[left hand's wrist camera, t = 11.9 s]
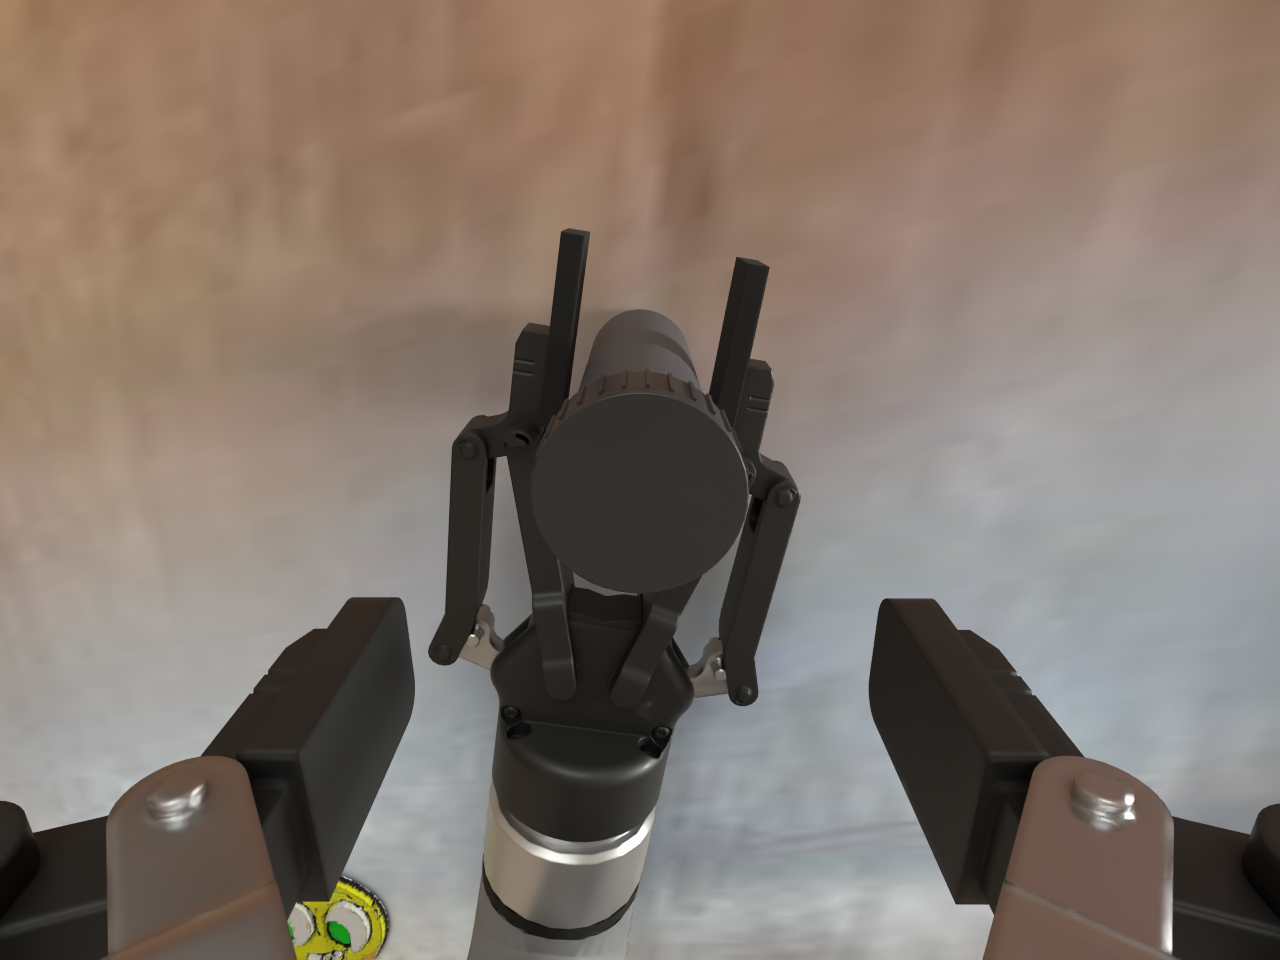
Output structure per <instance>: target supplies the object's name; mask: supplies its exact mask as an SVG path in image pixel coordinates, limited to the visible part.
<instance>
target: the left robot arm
mask: <svg viewBox="0 0 1280 960" xmlns="http://www.w3.org/2000/svg"><path fill="white" fill-rule="evenodd" d="M414 696H415V680H414V671H413V664H412V656H411V649H410V641H409V634H408V626H407V619H406V612H405V607H404V604H403V601H402V600H401V599H400V598H398V597H353V598H350V599H349V600H348V601H347V602H346V603H345V605H344V606H343V607H342V609H341V610H340V611H339V613H338V614H337V616H336V617H335V618H334V620H333V621H332V622H331V624H330V625H329V627H328V628H327V629H313V630H312V631H310V632H309V633H307V634H306V635H304V636H303V637H301V638H300V639H298V640H297V641H295V642H294V643H292V644H291V645H289V646H288V647H287V648H285V650H284V651H283V652H282V653H281V655H280V656H279V657H278V659H277V660H276V661H275V662H274V664H273V665H272V666H271V667H270V669H269V670H268V675H264V676H263V678H262V679H261V680H260V681H259V683H258V684H257V685H256V686H255V688H254V692H253V694H249V695H248V697H247V698H246V699H245V700H244V702H243V703H242V704H241V706H240V707H239V708H238V709H237V711H236V712H235V713H234V714H233V716H232V717H231V718H230V720H229V721H228V722H227V723H226V725H225V726H224V727H223V728H222V730H221V731H220V732H219V733H218V735H217V736H216V737H215V739H214V740H213V741H212V742H211V744H210V745H209V746H208V747H207V749H206V750H205V751H204V753H203V754H202V755H201V756H200V757H196V758H191V759H186V760H183V761H180V762H177V763H174V764H171V765H169V766H166V767H164V768H162V769H160V770H158V771H156V772H154V773H152V774H150V775H148V776H147V777H145V778H144V779H142V780H140V781H139V782H138V783H136V784H135V785H134V786H132V787H131V788H130V789H129V790H128V791H127V792H126V793H124V794H123V795H122V796H121V798H120V799H119V800H118V801H117V802H116V803H115V805H114V807H113V808H112V810H111V811H110V814H109V815H108V816H104V817H100V818H96V819H92V820H87V821H83V822H79V823H74V824H70V825H66V826H61V827H57V828H53V829H48V830H44V831H40V832H35V833H33V832H32V830H31V827H30V825H29V822H28V820H27V817H26V815H25V812H24V810H23V809H22V808H21V807H20V806H18V805H16V804H14V803H11V802H7V801H0V960H297V957H296V953H295V949H294V945H293V942H292V938H291V934H290V930H289V926H288V923H287V921H288V919H289V917H290V915H291V913H292V911H293V908H294V906H295V904H296V902H330V899H331V897H332V895H333V893H334V890H335V888H336V886H337V884H338V881H339V879H340V877H341V874H342V872H343V870H344V868H345V865H346V863H347V861H348V859H349V856H350V854H351V852H352V850H353V847H354V845H355V843H356V840H357V838H358V836H359V834H360V831H361V829H362V827H363V825H364V822H365V820H366V818H367V816H368V813H369V811H370V809H371V806H372V804H373V802H374V800H375V797H376V795H377V793H378V791H379V788H380V786H381V784H382V782H383V779H384V777H385V775H386V772H387V770H388V768H389V766H390V763H391V761H392V759H393V757H394V754H395V752H396V750H397V748H398V745H399V743H400V741H401V738H402V736H403V734H404V732H405V729H406V727H407V725H408V723H409V720H410V717H411V714H412V710H413V704H414ZM869 701H870V708H871V713H872V716H873V720H874V722H875V725H876V727H877V729H878V731H879V734H880V736H881V738H882V740H883V743H884V745H885V747H886V749H887V751H888V754H889V756H890V758H891V760H892V763H893V765H894V767H895V769H896V772H897V774H898V776H899V778H900V781H901V783H902V785H903V787H904V789H905V792H906V794H907V796H908V798H909V801H910V803H911V805H912V807H913V810H914V812H915V814H916V816H917V819H918V821H919V823H920V825H921V828H922V830H923V832H924V834H925V836H926V839H927V841H928V843H929V845H930V848H931V850H932V852H933V854H934V857H935V859H936V861H937V863H938V866H939V868H940V870H941V872H942V874H943V877H944V879H945V881H946V883H947V886H948V888H949V890H950V892H951V895H952V897H953V899H954V901H955V904H989V906H990V908H991V910H992V912H993V914H994V919H993V923H992V926H991V930H990V934H989V938H988V942H987V945H986V949H985V953H984V957H983V960H1280V804H1274V805H1270V806H1268V807H1266V808H1264V809H1262V811H1261V812H1260V813H1259V814H1258V817H1257V819H1256V822H1255V824H1254V827H1253V829H1252V832H1251V834H1250V835H1249V834H1245V833H1240V832H1236V831H1232V830H1227V829H1223V828H1219V827H1214V826H1210V825H1206V824H1201V823H1197V822H1193V821H1188V820H1184V819H1181V818H1177V817H1173V816H1171V814H1170V811H1169V810H1168V808H1167V807H1166V805H1165V803H1164V802H1163V801H1162V800H1161V799H1160V798H1159V796H1158V795H1157V794H1156V793H1154V792H1153V791H1152V790H1151V789H1150V788H1149V787H1148V786H1146V785H1145V784H1144V783H1142V782H1141V781H1140V780H1138V779H1136V778H1135V777H1133V776H1132V775H1130V774H1128V773H1126V772H1124V771H1122V770H1120V769H1118V768H1116V767H1114V766H1111V765H1109V764H1106V763H1103V762H1100V761H1097V760H1094V759H1089V758H1085V757H1084V756H1083V755H1082V753H1081V752H1080V751H1079V750H1078V748H1077V747H1076V746H1075V745H1074V743H1073V742H1072V741H1071V740H1070V738H1069V737H1068V736H1067V735H1066V733H1065V732H1064V731H1063V730H1062V728H1061V727H1060V726H1059V725H1058V723H1057V722H1056V721H1055V720H1054V718H1053V717H1052V716H1051V714H1050V713H1049V712H1048V711H1047V709H1046V708H1045V707H1044V706H1043V704H1042V703H1041V702H1040V701H1039V699H1038V698H1037V697H1036V696H1035V695H1032V693H1031V689H1030V688H1029V687H1028V686H1027V684H1026V683H1025V682H1024V681H1023V679H1022V678H1021V677H1020V676H1017V674H1016V670H1015V669H1014V668H1013V667H1012V665H1011V664H1010V663H1009V662H1008V660H1007V659H1006V658H1005V657H1004V655H1003V654H1002V653H1001V652H1000V650H999V649H997V648H996V647H995V646H993V645H992V644H990V643H989V642H987V641H986V640H984V639H983V638H981V637H980V636H978V635H977V634H975V633H974V632H972V631H971V630H957V629H956V627H955V626H954V624H953V623H952V622H951V620H950V619H949V618H948V616H947V615H946V614H945V612H944V611H943V610H942V608H941V607H940V605H939V604H938V603H937V602H936V601H935V600H934V599H884V600H883V601H882V602H881V604H880V607H879V611H878V618H877V625H876V633H875V640H874V648H873V655H872V662H871V670H870V677H869Z"/></svg>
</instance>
